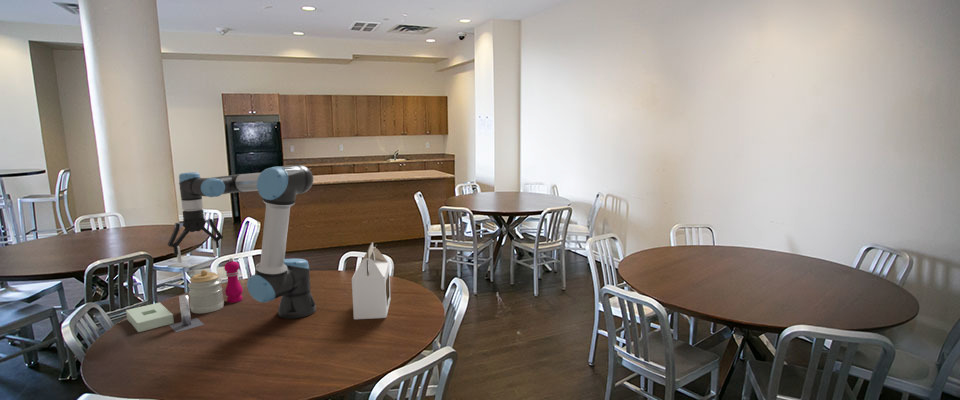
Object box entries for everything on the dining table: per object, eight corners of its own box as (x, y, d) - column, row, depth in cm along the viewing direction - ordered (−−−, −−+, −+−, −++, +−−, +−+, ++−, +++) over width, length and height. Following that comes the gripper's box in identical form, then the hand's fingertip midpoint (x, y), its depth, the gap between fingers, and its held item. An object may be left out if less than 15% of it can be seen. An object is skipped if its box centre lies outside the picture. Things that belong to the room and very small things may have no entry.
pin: (192, 324, 196) (189, 296, 194) (183, 327, 193) (180, 298, 192) (189, 322, 198) (186, 294, 196) (181, 324, 196) (177, 296, 194)
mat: (204, 325, 196) (204, 324, 196) (176, 333, 189) (176, 332, 189) (196, 318, 203) (196, 317, 203) (169, 326, 196) (168, 325, 196)
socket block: (174, 323, 198) (172, 314, 197) (138, 333, 189) (137, 323, 189) (160, 311, 212) (159, 302, 211) (127, 319, 203) (126, 310, 202)
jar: (194, 317, 205) (190, 276, 202) (187, 308, 215) (183, 269, 212) (228, 309, 213) (224, 270, 211) (220, 301, 223) (216, 263, 220)
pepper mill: (236, 303, 220) (232, 260, 217) (222, 302, 221) (218, 259, 218) (247, 298, 227) (243, 256, 224) (233, 297, 228) (229, 255, 225)
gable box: (386, 318, 201) (383, 252, 197) (353, 319, 200) (350, 253, 196) (390, 299, 223) (388, 239, 219) (361, 300, 222) (358, 240, 218)
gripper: (222, 204, 216) (226, 251, 219) (155, 212, 199) (161, 263, 202) (227, 206, 210) (232, 254, 213) (159, 214, 193) (165, 266, 196)
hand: (197, 258), depth 208 cm, fingers open, 13 cm apart
